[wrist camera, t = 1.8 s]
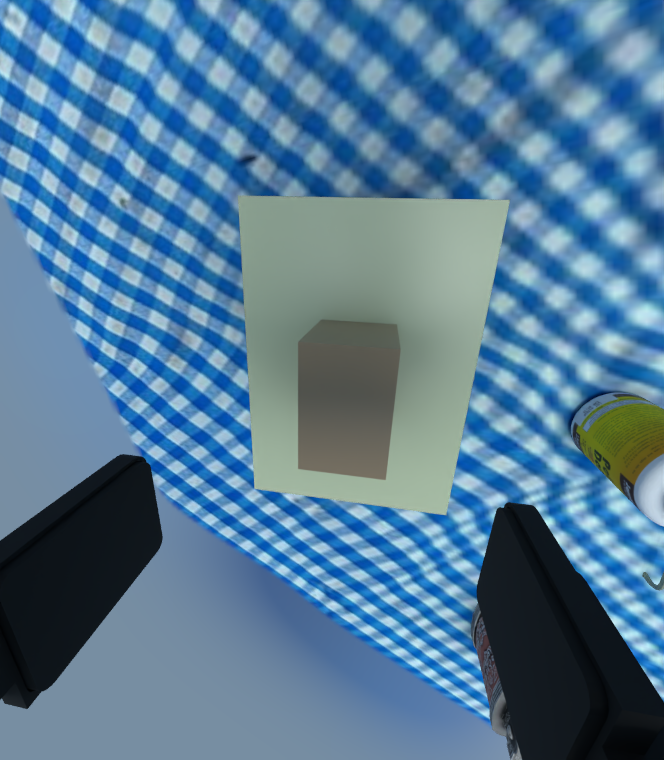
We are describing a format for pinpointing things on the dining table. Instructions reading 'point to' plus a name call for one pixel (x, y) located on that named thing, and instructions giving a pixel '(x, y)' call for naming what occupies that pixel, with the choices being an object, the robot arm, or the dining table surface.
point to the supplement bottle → (626, 447)
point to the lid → (364, 341)
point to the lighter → (493, 686)
